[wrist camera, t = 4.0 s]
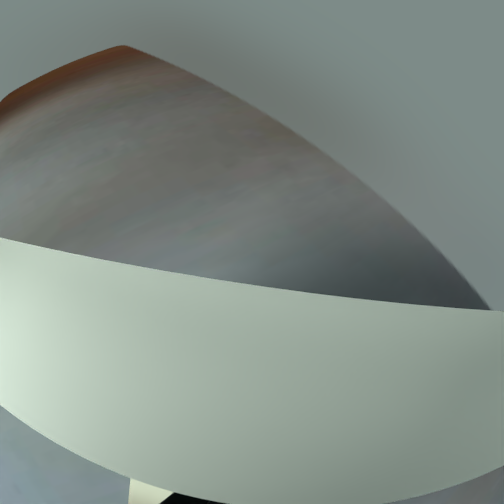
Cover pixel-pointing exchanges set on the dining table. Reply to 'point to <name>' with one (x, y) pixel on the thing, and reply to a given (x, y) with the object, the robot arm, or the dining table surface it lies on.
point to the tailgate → (248, 382)
